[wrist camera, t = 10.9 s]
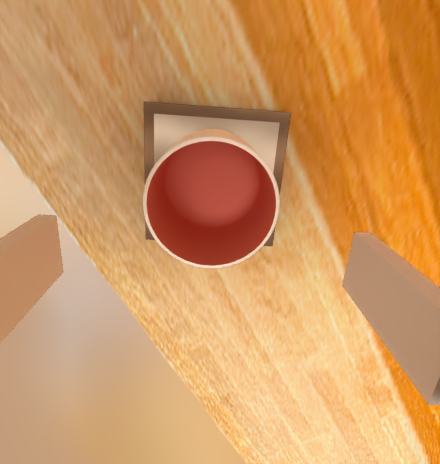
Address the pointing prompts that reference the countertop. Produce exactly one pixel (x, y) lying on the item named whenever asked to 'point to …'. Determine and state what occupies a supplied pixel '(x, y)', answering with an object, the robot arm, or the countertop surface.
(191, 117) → the stand
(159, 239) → the cup
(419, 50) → the countertop surface
